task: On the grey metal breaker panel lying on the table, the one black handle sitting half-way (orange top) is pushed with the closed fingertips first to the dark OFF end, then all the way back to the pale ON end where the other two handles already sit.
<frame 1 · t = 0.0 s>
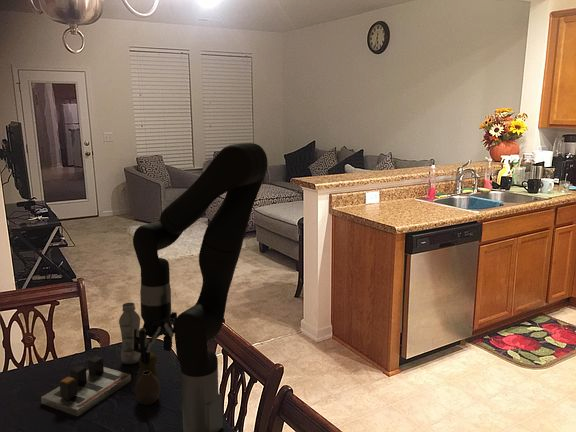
hand: (157, 357, 126), 17 cm above the table, tool pointing down, fingers open, 8 cm apart
plastic bottle: (132, 362, 157), on the table
vase: (148, 401, 136), on the table
breaker panel: (88, 391, 140), on the table
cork: (149, 389, 142), on the table
tripped breaker handle: (68, 387, 133), point 5 cm above the table, slide at 0.0 cm
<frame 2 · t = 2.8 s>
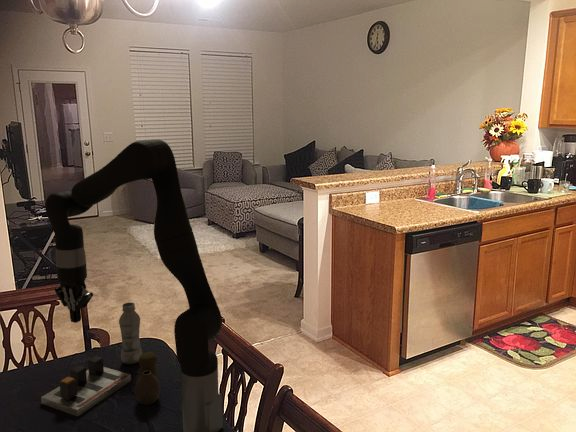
hand: (75, 321, 136), 22 cm above the table, tool pointing down, fingers closed
nothing on the table moved.
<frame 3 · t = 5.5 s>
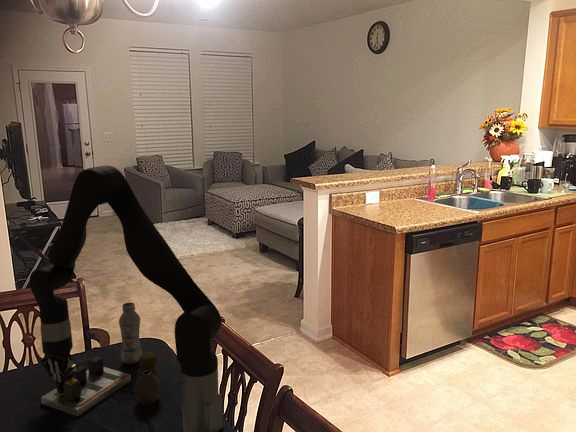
hand: (62, 391, 135), 3 cm above the table, tool pointing down, fingers closed
tripped breaker handle: (72, 388, 133), point 5 cm above the table, slide at -1.5 cm, touching gripper
everything else where it was.
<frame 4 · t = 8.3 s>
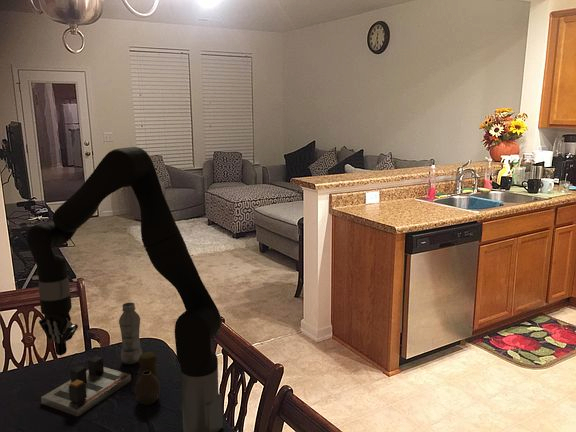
hand: (61, 353, 132), 15 cm above the table, tool pointing down, fingers closed
tripped breaker handle: (77, 390, 132), point 5 cm above the table, slide at -3.5 cm
everything else where it was.
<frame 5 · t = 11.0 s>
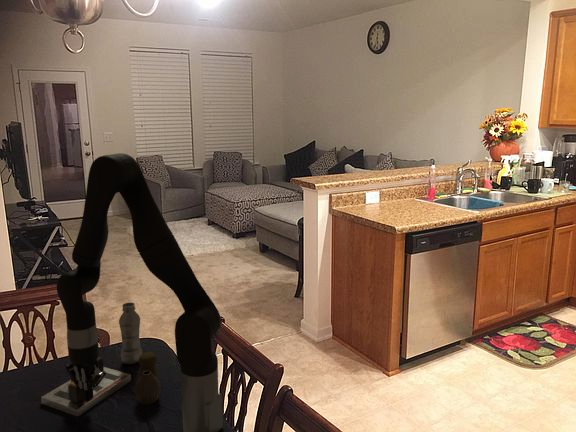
hand: (87, 399, 131), 3 cm above the table, tool pointing down, fingers closed
tripped breaker handle: (76, 390, 132), point 5 cm above the table, slide at -3.3 cm, touching gripper
everything else where it was.
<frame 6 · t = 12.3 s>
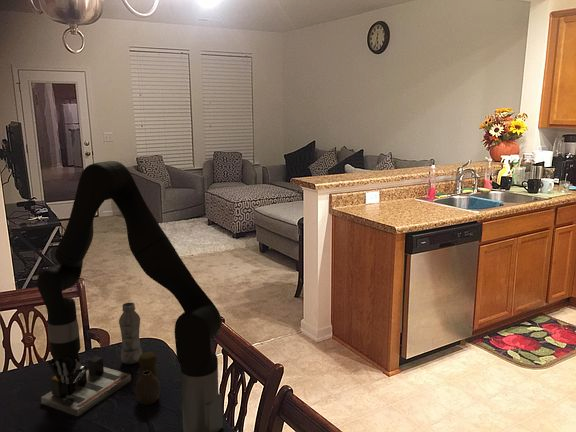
hand: (70, 393, 134), 3 cm above the table, tool pointing down, fingers closed
tripped breaker handle: (59, 384, 135), point 5 cm above the table, slide at 3.6 cm, touching gripper
everything else where it was.
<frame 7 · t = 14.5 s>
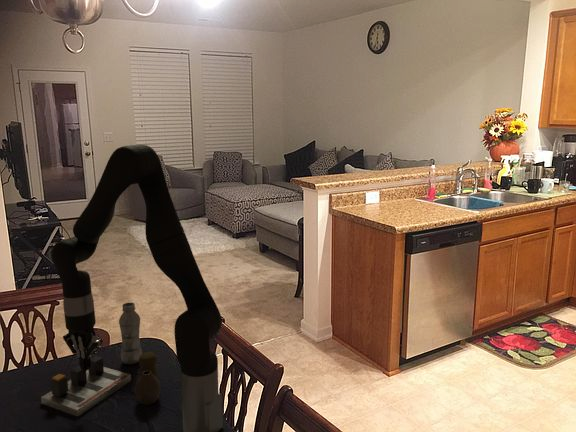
hand: (85, 368, 133), 10 cm above the table, tool pointing down, fingers closed
tripped breaker handle: (59, 384, 135), point 5 cm above the table, slide at 3.5 cm
everything else where it was.
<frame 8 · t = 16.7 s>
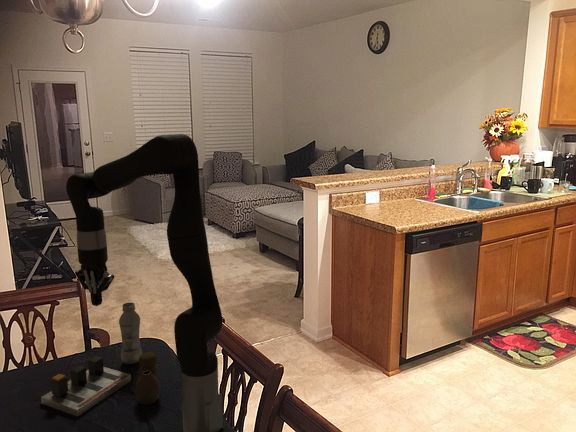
hand: (96, 304, 135), 27 cm above the table, tool pointing down, fingers closed
nothing on the table moved.
at the end: tripped breaker handle slide at 3.5 cm; tripped breaker handle touching nothing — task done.
